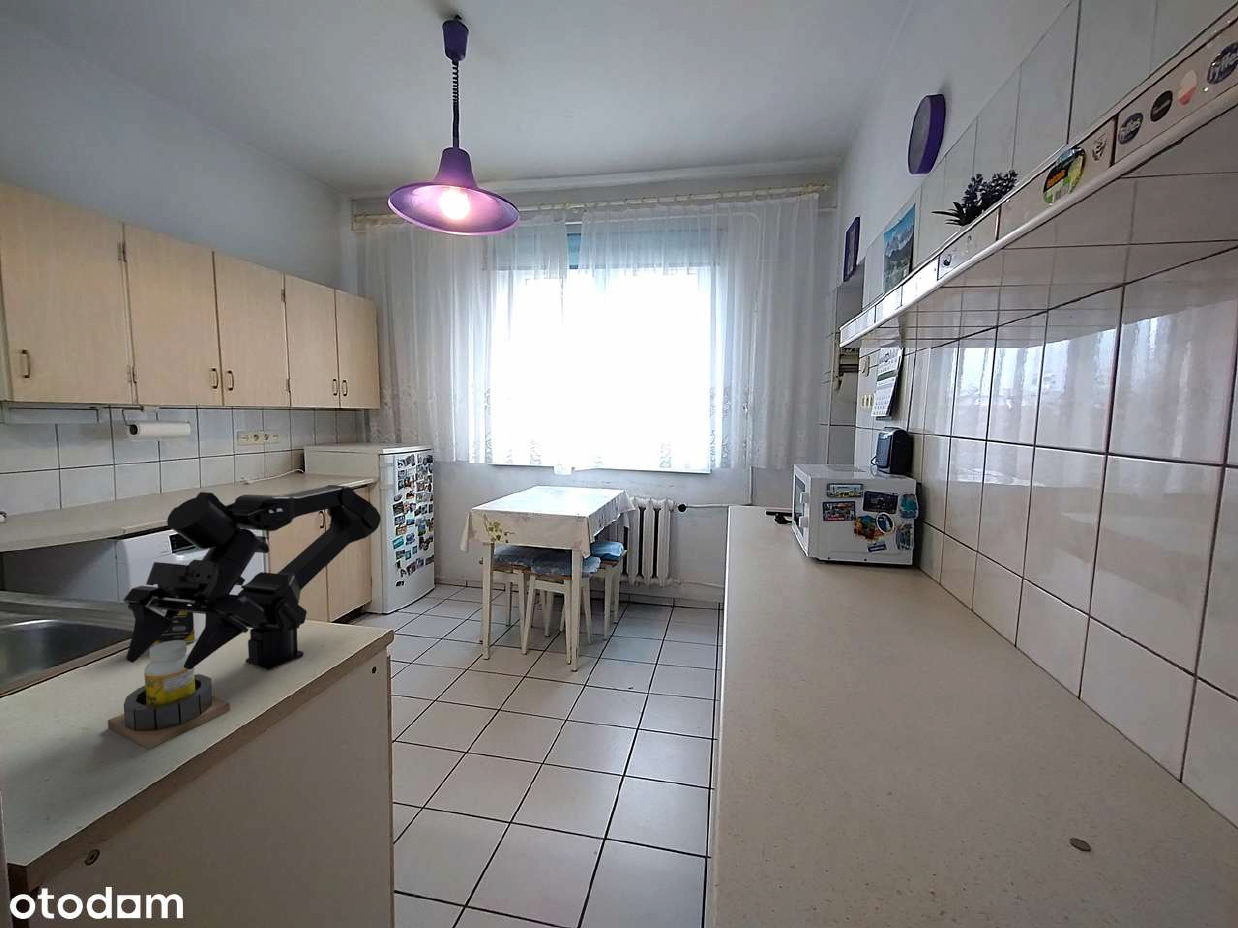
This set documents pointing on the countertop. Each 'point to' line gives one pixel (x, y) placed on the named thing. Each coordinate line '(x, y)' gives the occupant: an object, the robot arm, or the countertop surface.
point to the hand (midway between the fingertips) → (157, 664)
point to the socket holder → (167, 714)
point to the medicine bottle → (183, 625)
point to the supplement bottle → (168, 673)
